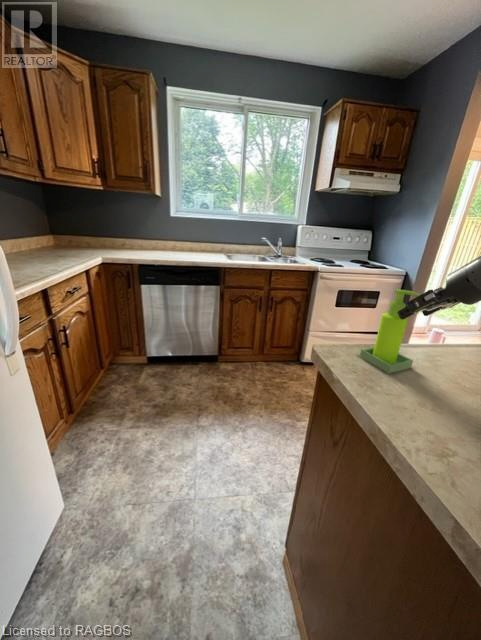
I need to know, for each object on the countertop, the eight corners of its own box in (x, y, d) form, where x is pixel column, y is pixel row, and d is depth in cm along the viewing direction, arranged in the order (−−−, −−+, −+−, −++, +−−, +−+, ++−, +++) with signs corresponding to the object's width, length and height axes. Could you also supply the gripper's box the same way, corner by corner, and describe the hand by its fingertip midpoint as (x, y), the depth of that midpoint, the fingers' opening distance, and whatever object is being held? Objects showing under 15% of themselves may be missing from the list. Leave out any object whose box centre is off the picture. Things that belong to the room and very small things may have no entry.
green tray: (359, 357, 77) (361, 349, 76) (380, 353, 80) (382, 345, 79) (388, 374, 69) (390, 365, 68) (410, 368, 72) (413, 360, 71)
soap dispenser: (397, 370, 70) (418, 295, 63) (369, 361, 74) (386, 289, 67) (401, 361, 75) (421, 291, 68) (374, 353, 78) (390, 286, 71)
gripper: (492, 260, 56) (423, 298, 70) (450, 261, 51) (384, 303, 65) (514, 291, 54) (438, 325, 68) (472, 296, 48) (398, 331, 62)
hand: (411, 314), depth 66 cm, fingers open, 8 cm apart
